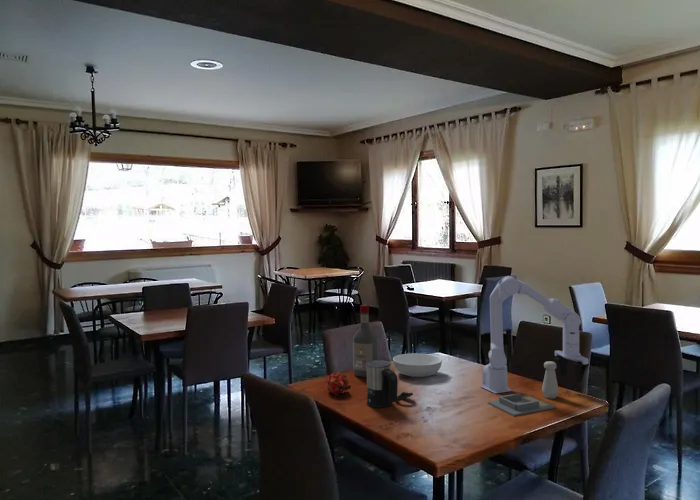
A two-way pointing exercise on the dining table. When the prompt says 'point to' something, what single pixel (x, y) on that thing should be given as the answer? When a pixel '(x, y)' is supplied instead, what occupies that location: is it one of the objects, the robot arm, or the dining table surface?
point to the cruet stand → (520, 404)
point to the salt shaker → (550, 381)
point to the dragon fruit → (337, 383)
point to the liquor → (364, 344)
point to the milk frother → (382, 384)
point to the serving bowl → (417, 364)
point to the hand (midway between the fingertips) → (571, 378)
